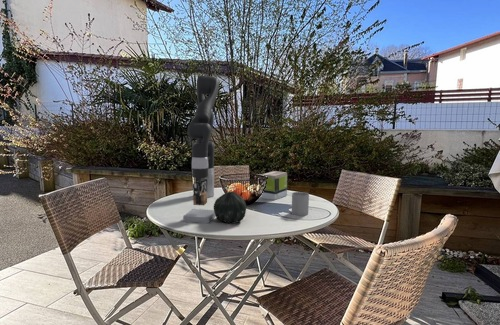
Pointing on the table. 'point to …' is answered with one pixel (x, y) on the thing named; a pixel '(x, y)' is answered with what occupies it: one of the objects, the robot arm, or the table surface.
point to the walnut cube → (203, 198)
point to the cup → (300, 203)
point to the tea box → (275, 185)
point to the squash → (230, 207)
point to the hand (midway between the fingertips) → (200, 202)
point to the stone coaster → (199, 216)
